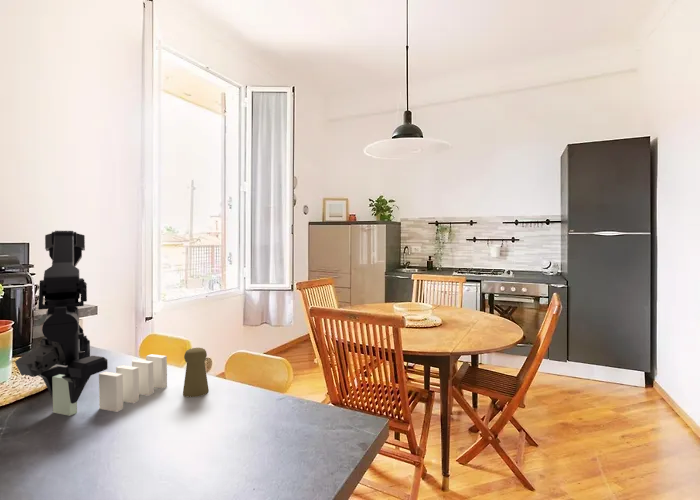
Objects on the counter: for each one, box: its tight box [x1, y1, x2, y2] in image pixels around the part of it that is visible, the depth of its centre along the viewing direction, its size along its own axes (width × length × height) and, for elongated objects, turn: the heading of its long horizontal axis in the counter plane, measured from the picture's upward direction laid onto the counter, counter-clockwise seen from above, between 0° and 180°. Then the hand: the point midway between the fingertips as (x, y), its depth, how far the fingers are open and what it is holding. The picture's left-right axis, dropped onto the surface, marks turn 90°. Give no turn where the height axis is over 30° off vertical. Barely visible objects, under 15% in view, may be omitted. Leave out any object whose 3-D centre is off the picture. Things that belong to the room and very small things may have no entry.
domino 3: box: [131, 358, 155, 397], centre depth 96 cm, size 2×5×8 cm, turn 73°
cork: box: [182, 347, 210, 398], centre depth 97 cm, size 6×6×11 cm
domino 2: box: [115, 364, 140, 404], centre depth 92 cm, size 2×5×8 cm, turn 73°
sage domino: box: [52, 374, 78, 417], centre depth 85 cm, size 2×5×8 cm, turn 73°
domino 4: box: [145, 353, 168, 390], centre depth 100 cm, size 2×5×8 cm, turn 73°
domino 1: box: [98, 371, 124, 413], centre depth 87 cm, size 2×5×8 cm, turn 73°
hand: (64, 401), depth 86 cm, fingers closed on sage domino, 5 cm apart
